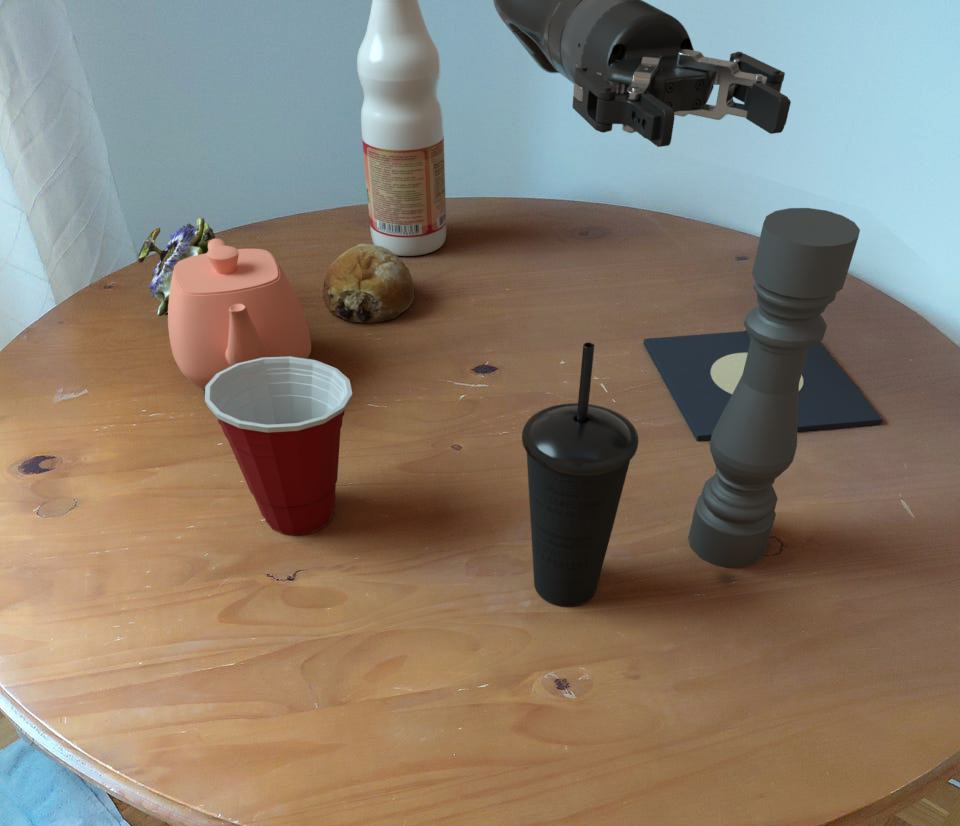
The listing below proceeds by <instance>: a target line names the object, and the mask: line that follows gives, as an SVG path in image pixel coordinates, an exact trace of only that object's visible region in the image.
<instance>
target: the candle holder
mask: <svg viewBox="0 0 960 826" xmlns="http://www.w3.org/2000/svg"><path fill="white" fill-rule="evenodd" d="M760 231H761V232H760V234H759V235H760V236H759V241H758V245H757V248H756V253H755V257H754V263H753V266H752V270H751V275H752V277H753V279H754V281H753V289H754V291H755V294H756V302H757V305H755V306H753V308H751V309H750V310H748V311H747V313H746V315H745V317H744V322H743V326H744V328H745V331H747V333H748V334H749V336H750V338H751V342H750V346H749V350H748V354H747V358H746V362H745V366H744V371H743V374H742V376H741V378H740V380H739V382H738V384H737V386H736V388H735V390H734V392H733V394H732V396H731V398H730V400H729V402H728V404H727V406H726V407H725V409H724V411H723V413H722V415H721V417H720V419H719V421H718V423H717V425H716V426H715V428H714V431H713V434H712V437H711V440H709V451H710V454H711V456H712V460H713V463H714V465H715V470H714V471H715V474H713V475H712V476H711V477H710V478H709V479H707V480H706V481H704V485H703V487H702V490H701V494H700V495H699V496H698V498H697V500H696V503H695V506H694V510H693V515H692V519H691V523H690V528H689V532H688V536H687V537H688V542H689V546H690V548H691V550H693V552H694V554H696V555H697V556H698V557H699V558H701V559H702V560H704V561H706V562H708V563H710V564H711V565H715V566H718V567H723V568H727V569H728V568H730V569H731V568H735V569H736V568H745V567H749V566H751V565H754V564H757V562H759V561H760V560H761V559H762V558H763V557H765V554H766V549H767V547H768V543H769V541H770V537H771V534H772V530H773V527H774V524H775V520H776V516H777V514H776V511H775V510H776V506H777V503H778V496H777V493H776V491H775V488H774V486H773V485H774V484H775V481H776V479H777V478H778V477H779V476H781V475H782V474H783V473H784V472H786V470H788V469H789V468H790V466H791V465H792V464H793V462H794V458H795V455H796V451H797V447H798V432H797V429H798V399H799V381H800V378H801V375H802V371H803V368H804V365H805V361H806V358H807V354H808V351H809V349H810V348H812V347H813V346H814V345H816V344H817V343H818V342H820V343H821V341H823V339H824V337H825V334H826V331H827V327H828V325H827V323H826V320H825V319H824V317H823V316H822V314H823V313H824V312H825V311H826V308H827V307H828V306H829V305H830V304H831V303H833V302H834V301H835V299H836V295H837V293H839V292H840V291H841V290H843V288H844V286H845V283H846V278H847V276H848V273H849V269H850V266H851V263H852V260H853V257H854V254H855V249H856V247H857V244H858V240H859V237H860V233H861V229H860V227H859V226H858V225H857V223H856V222H855V221H853V220H851V219H849V218H848V217H846V216H844V215H842V214H840V213H839V214H838V213H835V212H833V211H830V210H825V209H817V208H810V207H790V208H789V207H788V208H784V209H783V208H782V209H779V210H775V211H773V212H771V213H769V214H767V215H766V216H765V219H764V221H763V223H762V227H761V230H760Z"/></svg>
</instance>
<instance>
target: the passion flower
mask: <svg viewBox="0 0 960 826" xmlns="http://www.w3.org/2000/svg"><path fill="white" fill-rule="evenodd" d="M195 224H196V225H193V224H191V223H190V222H189V223H187V224H186V225H182V227H179V228H178V230H174V234H170V233H169V238H170V239H169V242H167V244H166V245H165V247H164V249H160V248H158V247H157V246H156V245H155V243H156V239H157V237H158V236H159V235H160V233H161V228H160V227H156V228H155V229H154V230H153V231H152V232H151V233H150V234H149V235H148V237H147V238H146V239H145V240H144V239H143V245H142V247H141V249H140V251H139V253H138V259H137V261H138V263H139V264H141V263H143V262H144V261H145V259H146V258H147V257H148V256H149V255H150V253H151V252H155V253H156V254H158V255H159V260H160V261H159V262H158V263H157V264H156V268H154V269H153V270H152V276H153V278H152V280H151V282H150V284H149V285H148V289H149V292H150V293H151V294H150V295H151V298H155V299H156V300H157V301H160V302H161V303H160V305H159V306H158V310H157V316H159V317H162V316H164V315H166V312H167V311H168V303H169V294H170V287H171V280H172V274H173V270H174V266H175V265H176V264H177V262H179V261H181V260H183V259H185V258H188V257H192V256H196V255H200V254H205V253H207V252H208V242H209V241H210V240H212V239H217V238H216V236H215V233H214V229H213V228H211V227H210V226H209V224H208V223H207V222H205V218H204V217H198V218H197V219H196V223H195Z"/></svg>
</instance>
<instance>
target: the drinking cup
mask: <svg viewBox="0 0 960 826" xmlns="http://www.w3.org/2000/svg"><path fill="white" fill-rule="evenodd" d="M594 355H595V344H594V343H593V342H589V341H587V342H585V343H583V344H582V355H581V365H580V375H579V376H580V377H579V378H580V379H579V387H578V388H579V389H578V390H579V391H578V398H577V399H578V400H577V402H571V403H560V404H556V405H552V406H549V407H545V408H542V409H541V410H539V411H537V412H536V413H534V414H533V415H532V416H531V417H530V418H528V420H526V422H525V424H524V426H523V428H522V431H521V432H522V433H521V442H522V446H523V448H524V450H525V452H526V461H527V462H526V465H527V483H528V500H529V501H528V502H529V516H530V517H529V518H530V533H531V552H532V568H533V586H534V588H535V591H536V593H537V595H538V596H539V597H540V598H542V599H543V601H546V602H548V603H549V604H552V605H555V606H559V607H576V606H580V605H583V604H586V603H587V602H589V601H590V600H591V599H592V598H593V597H594V596H595V594H596V592H597V589H598V585H599V581H600V578H601V574H602V570H603V566H604V562H605V558H606V556H607V555H606V554H607V551H608V547H609V543H610V540H611V536H612V532H613V528H614V524H615V521H616V516H617V513H618V508H619V505H620V500H621V497H622V494H623V490H624V485H625V482H626V477H627V474H628V470H629V466H630V462H631V460H632V459H633V457H634V456H635V455H636V454H637V451H638V447H639V435H638V431H637V429H636V427H635V426H634V425H633V423H632V422H631V421H630V420H629V419H628V417H627V418H626V417H625V416H624V415H623V414H620V413H619V412H617V411H615V410H613V409H610V408H607V407H605V406H601V405H596V404H592V403H590V393H591V386H592V385H591V384H592V375H593V374H592V373H593V365H594V364H593V363H594Z"/></svg>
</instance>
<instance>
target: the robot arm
mask: <svg viewBox="0 0 960 826" xmlns="http://www.w3.org/2000/svg"><path fill="white" fill-rule="evenodd" d="M492 1H493V2H492V3H493V7H494V9H495V11H496V13H497V15H498V17H499V18H500V19H501V21H502V22H503V23H504V24H505V26H506V27H507V28H508V30H510V32H511V33H512V34H513V35H514V37H515V38H516V39H517V40H518V42H519V43H520V44H521V46H522V47H523V48H524V49H525V51H526V52H527V53H528V54H529V56H530V57H531V58H532V59H533V61H534V62H535V63H536V64H537V66H538V67H539V68H540V69H542V70H543V72H546V73H549V74H560V75H561V76H563V78H565V79H566V80H568V81H569V82H570V83H572V84H573V94H572V95H573V96H572V109H573V110H574V111H575V113H577V114H578V115H579V116H581V118H582V119H583V120H585V121H586V122H587V123H588V125H590V126H591V127H592V128H593V129H594V130H595V131H596V132H600V133H603V134H604V133H608V132H611V131H613V125H621V126H622V128H621V130H622V131H623V132H626V133H628V134H634V133H638V134H639V135H640V136H641V137H643V138H644V139H647V140H648V141H650V142H651V143H652V144H653V145H654V146H656V147H658V148H660V147H661V148H662V147H669V146H670V145H671V143H672V138H673V130H674V124H675V117H676V116H678V117H687V116H688V115H691V116H696V117H701V118H702V117H703V118H706V119H711V120H716V121H720V120H722V119H723V118H725V117H727V116H728V115H730V116H735V117H740V118H744V119H746V120H747V121H749V122H750V123H752V124H754V125H755V126H757V127H759V128H760V129H762V130H764V131H765V132H767V133H768V134H770V135H772V134H773V135H775V134H780V133H782V132H783V131H784V129H785V126H786V125H787V121H788V117H789V112H790V107H791V104H792V101H791V100H790V98H789V96H787V95H786V94H783V93H781V91H782V86H783V82H784V79H785V76H786V72H784V71H782V70H781V69H778V68H776V67H773V66H772V65H770V64H767V63H766V62H764V61H762V60H759V59H757V58H755V57H753V56H751V55H749V54H747V53H743V51H735V52H732V53H730V54H729V60H724V59H719V58H714V57H708V56H705V55H704V54H703V53H702V52H701V51H698V50H695V49H694V47H693V43H692V40H691V38H690V35H689V33H688V31H687V29H686V28H685V25H683V24H682V23H681V21H679V20H678V19H677V18H676V17H675V16H673V15H671V14H669V13H667V12H665V11H663V10H662V9H660V8H658V7H655V6H653V5H652V4H650V3H648V2H646V1H644V0H492ZM715 86H718V91H717V97H716V103H715V104H714V105H713V104H708V101H709V99H710V97H711V95H712V92H713V90H714V87H715ZM734 98H735V99H737V100H738V101H740V102H742V103H739V102H735V101H734Z"/></svg>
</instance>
